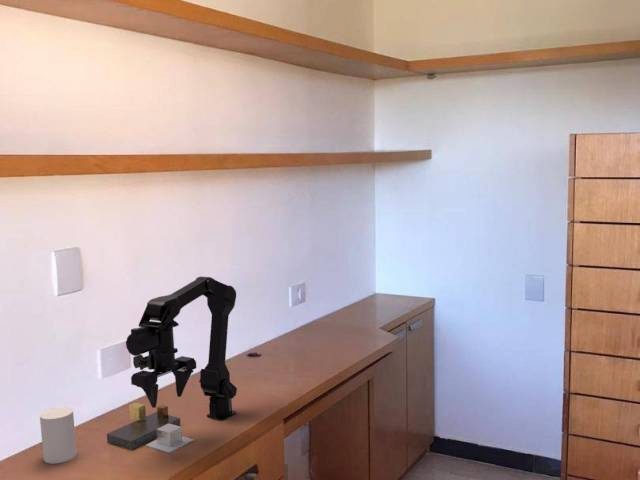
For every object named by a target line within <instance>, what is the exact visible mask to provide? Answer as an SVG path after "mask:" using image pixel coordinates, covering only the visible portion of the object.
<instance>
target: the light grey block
mask: <svg viewBox="0 0 640 480" xmlns="http://www.w3.org/2000/svg"><path fill="white" fill-rule="evenodd" d="M182 428H183V427H182V426H176V425H173V424H169V423H168V424H166V425H164V426H162V427H160V428H158V429H156V432H157V438H156V440H157V443H158V444H161V445H165V446H168V447H172V446H174V445H175V444H177V443H179V442H181V441H182V436H183V429H182Z"/></svg>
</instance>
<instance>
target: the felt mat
mask: <svg viewBox="0 0 640 480" xmlns="http://www.w3.org/2000/svg"><path fill="white" fill-rule="evenodd" d="M191 441H192V442H194V439H192V438H190V437H186V436H183V435H182V441H181V442H179V443H177V444H175V445H174V446H172V447H168V446H165V445H161V444H158V443H157V439H154V440H152V441H150V442H148V443H146V444H145V447H147V448H150V449H153V450H156V451H161V452H163V453H165V454H166V453H167V454H171V453H173V452H176V451H177V450H179V449H181V448H182V446H183V447H184V445H185V446H186V445H188V444H190V443H192V442H191ZM189 442H190V443H189ZM187 443H188V444H187ZM180 447H181V448H180Z"/></svg>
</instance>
